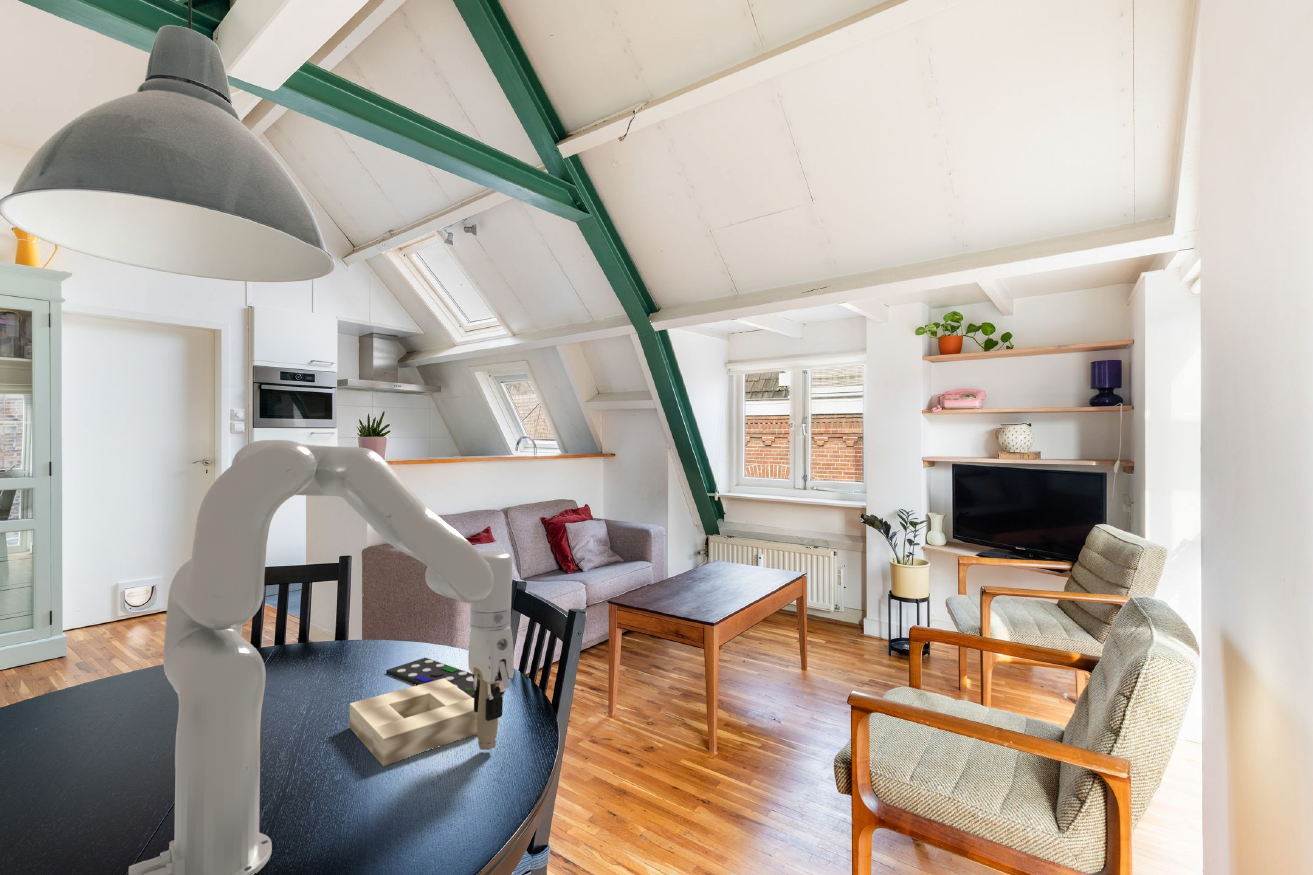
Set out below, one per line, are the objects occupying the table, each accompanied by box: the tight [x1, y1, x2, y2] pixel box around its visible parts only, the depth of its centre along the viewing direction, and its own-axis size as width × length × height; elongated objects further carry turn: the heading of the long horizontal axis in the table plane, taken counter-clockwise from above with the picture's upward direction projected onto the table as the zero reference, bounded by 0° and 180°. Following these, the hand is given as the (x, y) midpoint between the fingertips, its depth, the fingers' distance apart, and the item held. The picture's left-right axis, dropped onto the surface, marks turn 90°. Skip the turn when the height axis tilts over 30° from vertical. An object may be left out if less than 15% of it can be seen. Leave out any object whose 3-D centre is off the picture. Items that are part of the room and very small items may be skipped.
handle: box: [473, 668, 499, 751], centre depth 115 cm, size 5×6×15 cm
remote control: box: [385, 657, 476, 698], centre depth 150 cm, size 11×30×2 cm, turn 55°
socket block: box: [349, 678, 478, 767], centre depth 124 cm, size 20×20×5 cm
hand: (487, 713), depth 115 cm, fingers closed on handle, 3 cm apart
